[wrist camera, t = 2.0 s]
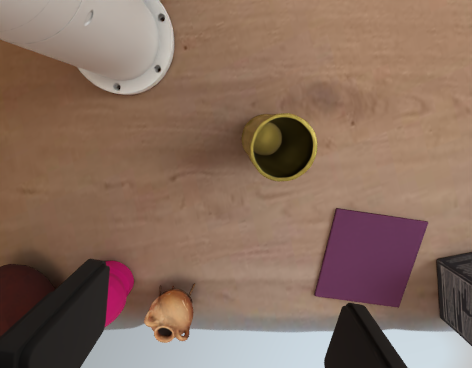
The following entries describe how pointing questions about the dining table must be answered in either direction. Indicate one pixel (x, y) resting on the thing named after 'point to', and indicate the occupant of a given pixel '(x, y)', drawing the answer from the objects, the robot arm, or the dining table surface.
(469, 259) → the small box
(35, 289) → the dark brown egg
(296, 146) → the vase
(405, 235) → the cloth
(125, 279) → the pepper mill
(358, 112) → the dining table surface
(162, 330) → the pot
